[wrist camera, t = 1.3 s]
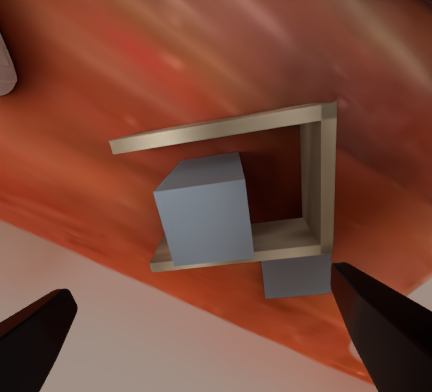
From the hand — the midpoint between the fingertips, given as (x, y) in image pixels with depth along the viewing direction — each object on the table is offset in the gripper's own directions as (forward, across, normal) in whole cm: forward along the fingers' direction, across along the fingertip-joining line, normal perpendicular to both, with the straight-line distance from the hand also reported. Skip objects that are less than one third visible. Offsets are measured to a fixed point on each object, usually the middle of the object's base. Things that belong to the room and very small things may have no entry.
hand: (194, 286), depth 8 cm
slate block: (+11, 0, 0) cm, 11 cm away
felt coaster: (+11, -6, +9) cm, 16 cm away
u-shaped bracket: (+11, -1, 0) cm, 11 cm away
